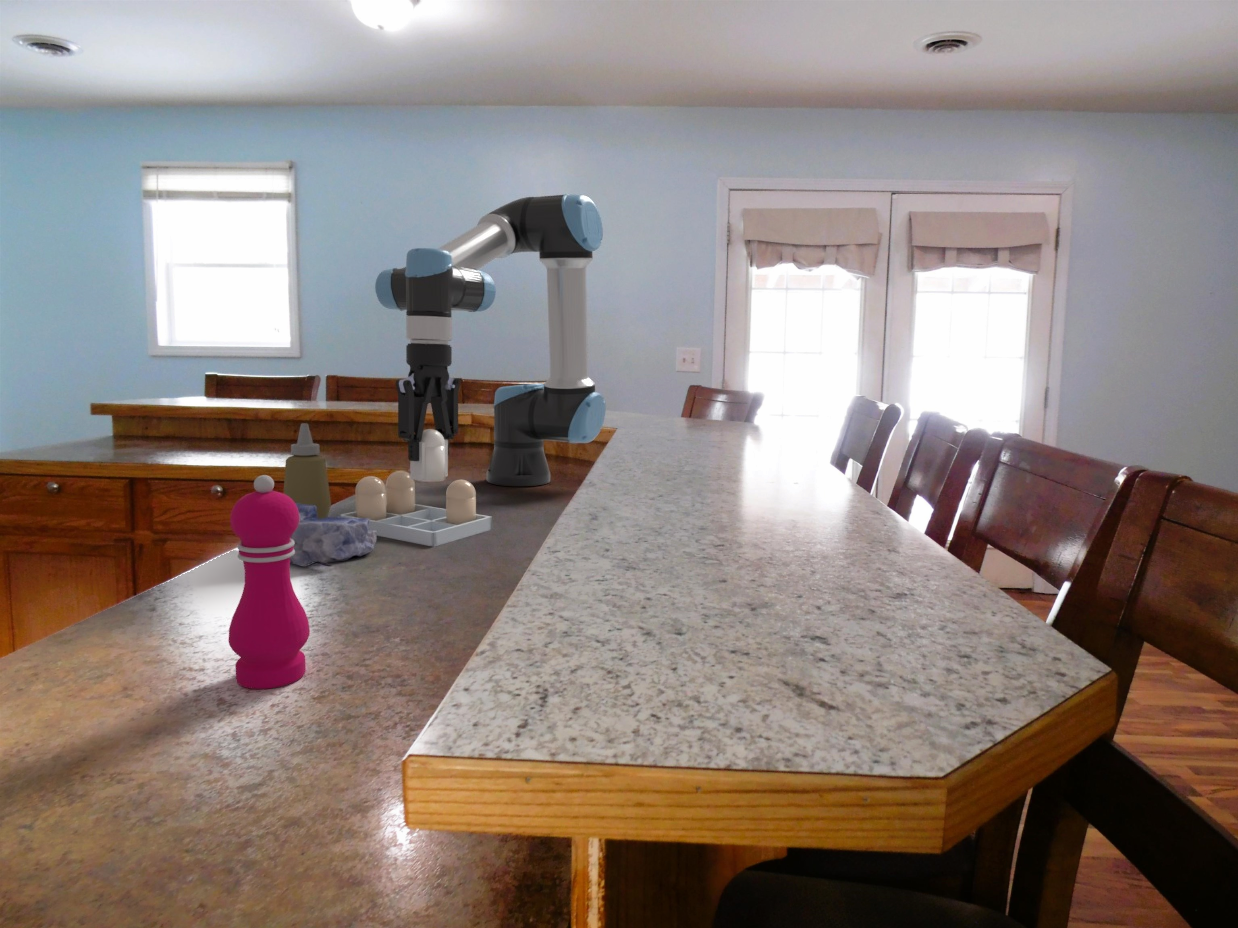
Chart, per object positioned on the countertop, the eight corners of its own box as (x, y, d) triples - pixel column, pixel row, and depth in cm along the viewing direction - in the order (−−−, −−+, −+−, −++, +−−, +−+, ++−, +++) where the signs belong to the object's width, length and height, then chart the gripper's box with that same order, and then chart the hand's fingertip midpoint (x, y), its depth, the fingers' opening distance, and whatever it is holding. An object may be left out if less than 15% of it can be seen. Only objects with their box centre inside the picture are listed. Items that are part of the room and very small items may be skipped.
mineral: (262, 508, 111) (288, 491, 120) (259, 572, 113) (284, 549, 122) (367, 521, 112) (384, 503, 122) (361, 584, 114) (378, 561, 124)
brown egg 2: (400, 515, 146) (399, 468, 145) (421, 518, 144) (420, 470, 142) (380, 520, 142) (379, 471, 140) (401, 523, 139) (400, 473, 138)
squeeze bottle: (315, 532, 135) (312, 427, 132) (272, 528, 136) (268, 424, 134) (340, 522, 143) (338, 422, 140) (300, 518, 144) (297, 420, 141)
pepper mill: (224, 671, 78) (215, 472, 75) (300, 656, 83) (294, 467, 80) (238, 698, 73) (228, 484, 70) (319, 681, 77) (313, 478, 74)
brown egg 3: (459, 525, 139) (459, 476, 138) (481, 529, 137) (481, 479, 135) (439, 530, 135) (439, 480, 134) (462, 535, 132) (462, 483, 131)
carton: (401, 517, 148) (400, 501, 147) (492, 533, 137) (492, 516, 137) (338, 532, 135) (338, 514, 135) (434, 551, 125) (433, 532, 124)
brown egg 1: (372, 521, 140) (371, 473, 139) (392, 525, 137) (392, 476, 136) (349, 527, 136) (348, 476, 134) (370, 531, 133) (369, 479, 132)
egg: (451, 478, 139) (450, 429, 137) (431, 482, 134) (430, 431, 133) (429, 476, 141) (429, 427, 140) (409, 479, 137) (408, 429, 135)
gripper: (448, 343, 144) (447, 469, 147) (372, 340, 128) (374, 481, 132) (480, 344, 140) (479, 473, 144) (407, 341, 125) (407, 486, 128)
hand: (429, 477), depth 138 cm, fingers closed on egg, 5 cm apart
